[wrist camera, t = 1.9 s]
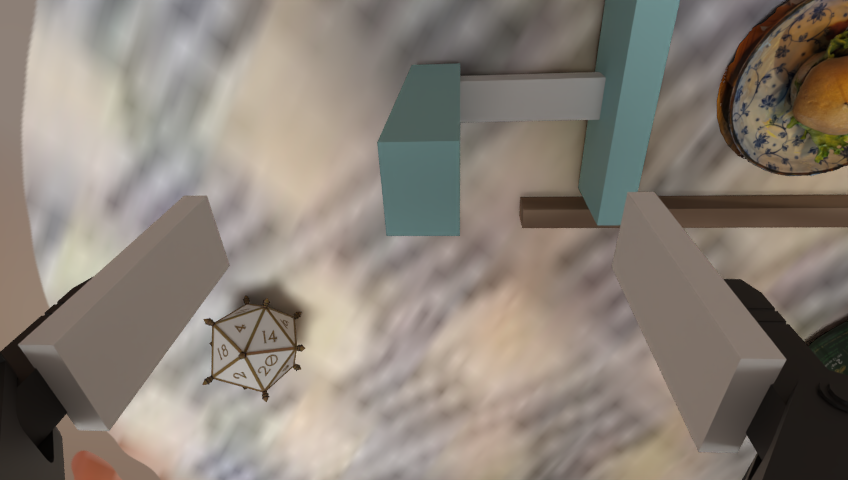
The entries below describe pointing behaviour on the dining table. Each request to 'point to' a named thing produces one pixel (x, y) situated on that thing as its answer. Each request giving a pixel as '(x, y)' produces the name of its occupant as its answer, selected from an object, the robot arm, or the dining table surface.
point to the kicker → (529, 101)
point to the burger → (790, 91)
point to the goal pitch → (701, 211)
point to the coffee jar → (833, 349)
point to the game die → (253, 347)
